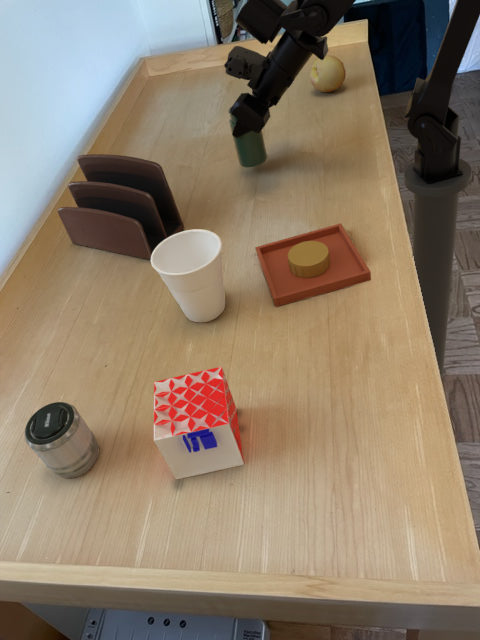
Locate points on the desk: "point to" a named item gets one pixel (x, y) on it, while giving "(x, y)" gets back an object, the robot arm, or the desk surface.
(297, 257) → the lid
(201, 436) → the red white patterned cube
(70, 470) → the camera lens
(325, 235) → the tray
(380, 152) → the desk surface
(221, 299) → the cup
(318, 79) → the fruit
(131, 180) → the letter holder
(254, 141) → the jar
